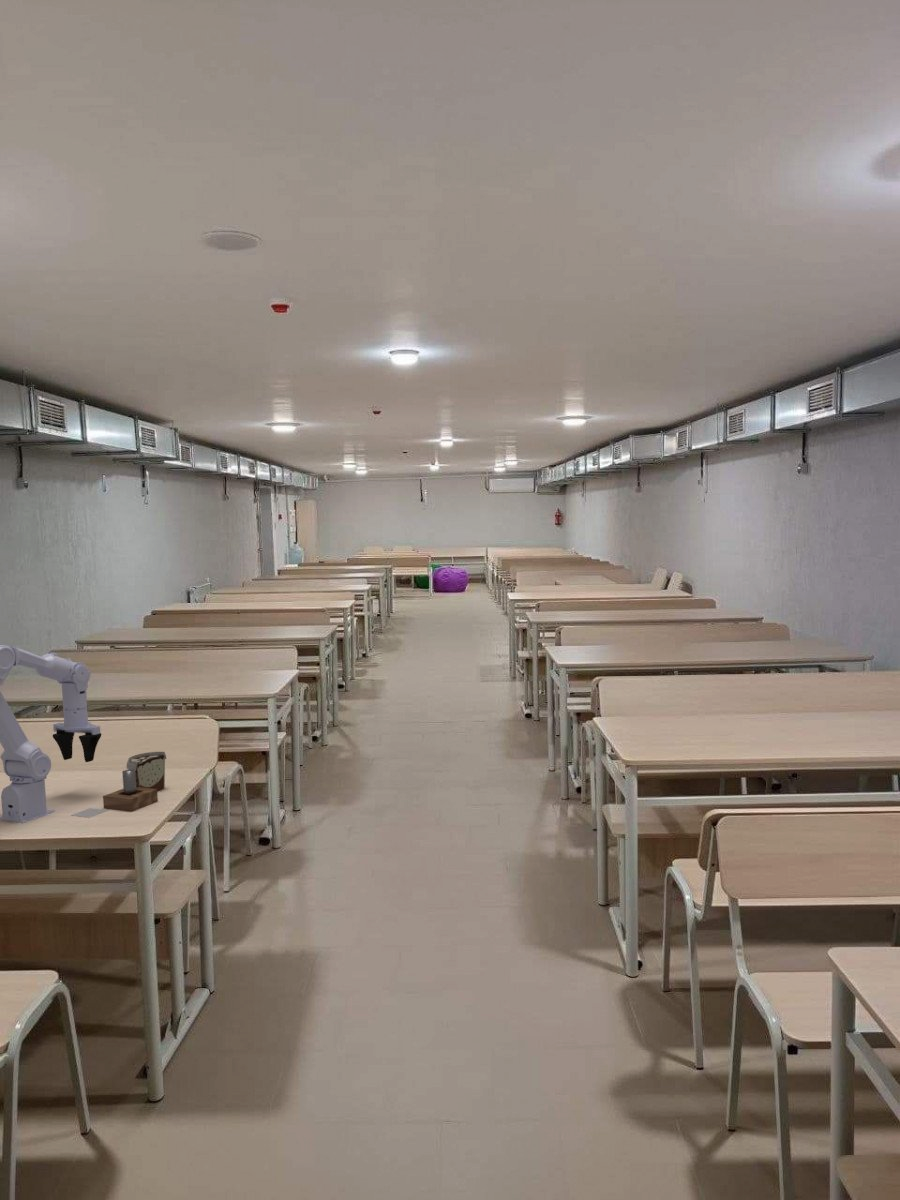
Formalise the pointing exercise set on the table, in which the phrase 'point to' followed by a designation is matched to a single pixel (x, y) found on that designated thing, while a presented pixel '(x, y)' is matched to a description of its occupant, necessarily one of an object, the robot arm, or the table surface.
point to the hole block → (130, 799)
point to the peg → (129, 782)
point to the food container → (149, 769)
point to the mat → (89, 813)
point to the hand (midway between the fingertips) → (78, 760)
